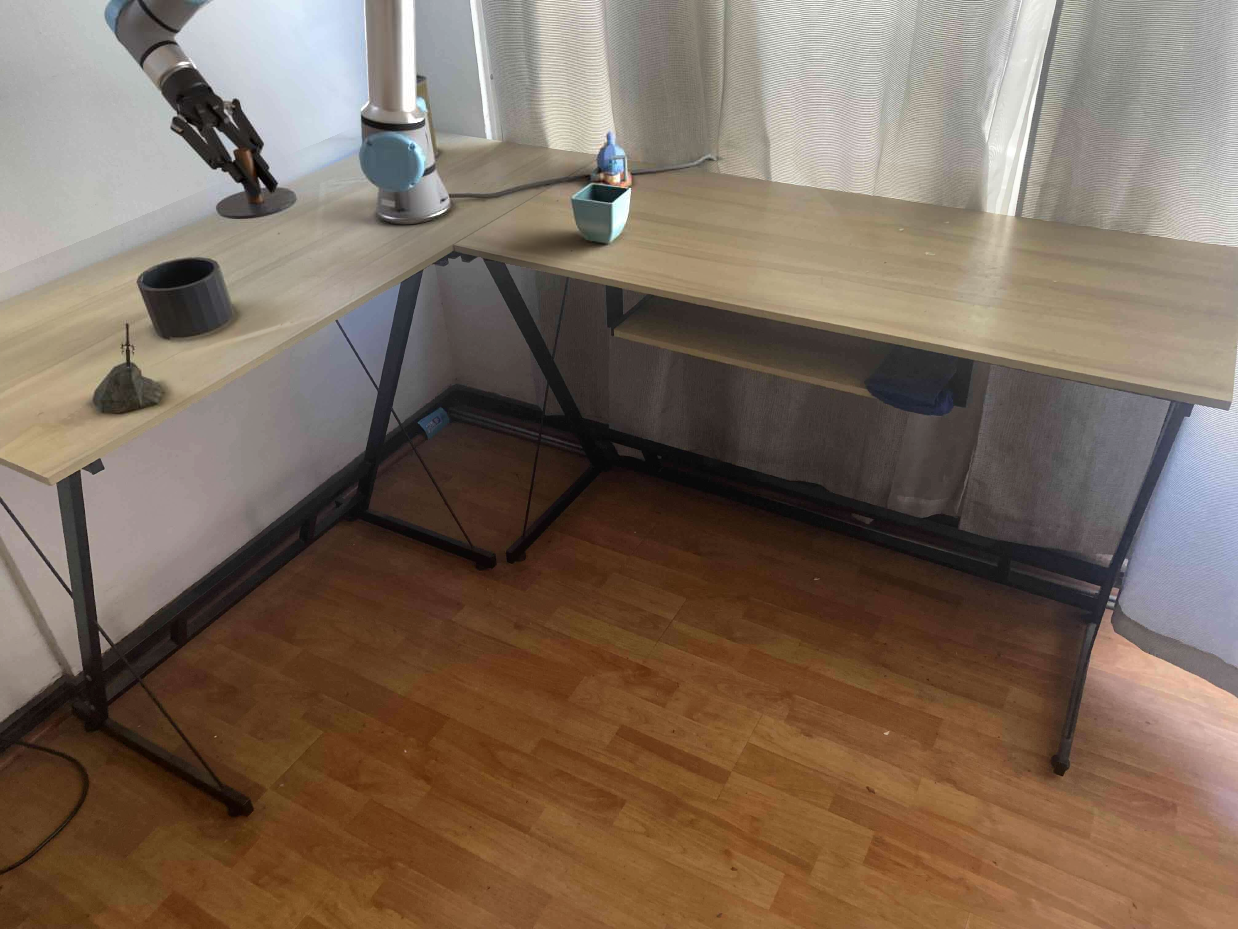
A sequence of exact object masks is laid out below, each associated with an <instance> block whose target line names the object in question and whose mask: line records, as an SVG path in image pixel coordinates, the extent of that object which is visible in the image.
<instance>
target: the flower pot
mask: <svg viewBox="0 0 1238 929" xmlns="http://www.w3.org/2000/svg"><path fill="white" fill-rule="evenodd" d="M631 192H632V189H631V188H630V187H618V186H610V185H603V184H595V183H591V184H590V183H589V184H587V185H586V186H584V187H583V188H582V189H581V190H579V191H577V193H575V194H574V195H572V196H571V197H570V201H571V202H570V203H571V207H572V212H573V218H574V222H575V224H576V227H577V229H578V231H579V233H580V234H581V236H582V237H583V238H584V239H585V240H586V241H589V242H597V243H601V244H603V243H604V244H611V243H612V242H613V241H614V240H615V239H616V238H617V237H618V236H620V234H621V233H622V231H623V229H624V227H625V225H626V223H627V220H628V216H629V211H630V201H631Z"/></svg>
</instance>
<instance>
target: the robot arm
mask: <svg viewBox="0 0 1238 929" xmlns="http://www.w3.org/2000/svg"><path fill="white" fill-rule="evenodd" d="M213 1H214V0H110V1H109V2H108V3H107V5H106V6H105V8H104V12H103V16H104V20H105V23H106V24H107V26H108V27H109V29H110V30H111V31H112V33H113V35H114V36H115V38H116V39H117V42H119V43H120V44H121V45H122V46H123V48H124V49H125V50H126V51H127V52H128V53H129V55H130V56H131V57H132V58H133V59H134V61H135V62H136V63H137V65H139V67H140V68H141V70H142V71H143V72H144V73H145V75H146V77H148V79H149V80H150V81H151V82H152V84H153V85H154V86H155V88H156V89H157V90H158V91H159V92H161V95H162V97H163V98H164V99H165V100H166V102H167V103H168V104H169V106H170V107H171V108H172V109H173V110H174V111H175V112H176V116H172V119H171V122H170V127H169V129H170V130H171V131H172V132H174V133H175V134H177V135H179V137H182V139H183V140H184V141H185V142H186V143H187V144H188V145H189V146H190V147H191V149H193V150H194V152H195V153H197V155H198V156H199V157H200V158H201V159H202V160H203V161H204V162H205V163H206V165H208V167H209V168H210V169H211V170H213V171H216V170H217V169H220V171H221V172H223V173H228V175H229V176H230V177H231V178H232V179H233V181H234V182H235V183H236V184H241V185H242V186H244V187H243V189H244V188H245V189H246V190H247V191H248V193H249V194H250V195H251V196H252V198H253V199H254V200H255V199H258V197H259V194H260V192H261V188H262V187H261V188H260V187H259V186H258V184H257V183H256V182H255V181H254V179H253V178H252V177H251V176H250V174H249V173H248V172H247V170H246V169H245V168H244V167H243V165H242V164H241V163H240V162H239V160H238V159H235V158H234V159H233V158H232V156H231V154H230V153H229V151H228V149H227V148H226V147H225V144H224V143H223V142H222V140H221V138H220V137H219V135H218V133H217V132H216V130H217V131H218V132H219V133H222V134H223V135H224V136H225V137H226V138H227V139H228V140H229V141H230V142H231V143H232V144H233V145H234V146H235V147H236V149H239V148H249V149H250V151H251V155H252V158H253V162H254V165H255V169H256V172H257V175H258V179H259V181H260V182H261V183H262V184H263V185H264V188H267V189H268V190H269V192H270V193H273V192H275V189H276V187H278V185H279V182H278V181H277V179H276V178H275V177H274V175H273V174H272V173H271V172H270V165H269V164H268V163H267V161H266V160H265V159H264V158H263V156H262V155H261V154H262V151H263V148H264V147H265V142H264V141H263V140H262V138H261V136H260V135H259V133H258V132H257V130H256V129H255V127H254V125H252V123H251V121H250V120H249V118H248V117H247V115H246V113H245V112H244V111H243V109H242V105H241V101H240V100H239V99H238V98H236V97H235V98H233V99H232V101H231V100H230V101H229V100H224V99H223V98H222V97H221V96H220V95H218V94H216V93H215V92H214V90H213V88H212V85H211V84H210V83H209V81H208V80H207V79H206V77H204V75H203V74H202V72H201V71H200V70H199V69H197V67H196V64H194V62H193V60H192V59H191V58H190V57H189V56H188V54H187V53H186V52H185V51H184V49H183V48H182V47H181V46H180V44H178V42H177V41H176V39H175V37H176V36H177V35H178V34H179V33H180V32H181V31H182V29H183V28H184V27H185V26H186V25H187V24H188V22H189V21H190V20H191V19H192V18H193V17H194V16H195V15H196V14H197V13H198V12H199V11H200V10H201V9H203V8H204V7H205V6H207V5H208V4H210V3H211V2H213ZM363 9H364V30H365V46H366V47H365V49H366V50H365V52H366V72H367V73H366V74H367V95H368V96H367V97H368V101H367V102H366V104H364V105H363V106H362V108H361V109H360V127H361V128H360V129H361V131H360V132H361V146H360V148H359V152H358V161H359V165H360V169H361V171H362V173H363V175H364V176H365V178H366V179H367V180H368V182H370V183H371V184H373V186H374V187H376V188H378V191H377V197H376V198H377V199H376V211H377V216H378V219H380V220H381V221H383V222H386V223H389V224H394V225H416V224H422V223H427V222H431V221H435V220H438V219H440V218H442V217H443V216H445V215H447V214H448V213H450V211H451V209H452V204H451V203H452V202H451V199H452V198H453V199H457V198H459V199H460V198H461V199H462V198H472V199H489V198H495V197H497V198H498V197H501V196H504V195H508V194H511V193H514V192H518V191H522V190H526V189H527V190H528V189H532V188H535V187H540V186H544V185H545V186H546V185H550V184H556V183H562V182H569V181H570V182H571V181H576V180H578V181H579V180H586V179H590V178H591V173H587V174H579V175H572V176H564V177H558V178H552V179H546V180H540V181H537V182H531V183H527V184H526V183H525V184H523V185H518V186H515V187H511V188H507V189H504V190H501V191H497V192H496V191H495V192H489V193H472V192H471V193H468V192H467V193H448V191H447V189H446V186H445V185H444V184H443V181H442V179H441V177H440V175H439V174H438V171H437V166H436V159H435V157H434V153H433V147H432V141H431V135H430V129H429V123H428V117H427V114H428V110H427V109H426V105H425V101H424V100H423V99H422V98H421V97H419V96H417V85H416V73H417V31H416V30H417V28H416V27H417V26H416V23H417V22H416V0H363ZM225 111H226V112H227V113H226V112H225ZM230 116H231V118H230ZM231 119H232V120H231ZM232 121H233V122H232ZM193 127H195V128H196V130H197V131H198V132H197V131H196V130H195V129H194V128H193ZM215 129H216V130H215ZM710 155H711V154H709V153H707V154H703V155H701V156H700V157H699V158H697V159H696V160H693V161H691V162H686V163H682V164H675V165H667V166H658V167H651V168H641V169H640V168H639V169H630V170H628V169H627V172H630V174H631V175H636V174H648V173H655V172H656V173H657V172H664V171H671V170H678V169H679V170H680V169H685V168H690V167H694V166H696V165H698V164H700V163H701V162H703V161H705V160H706V159H710V160H712V161H717V160H718V159H717V158H716V156H714V155H713V156H710ZM623 172H624V171H623ZM599 174H600V173H599Z"/></svg>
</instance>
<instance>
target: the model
mask: <svg viewBox="0 0 1238 929" xmlns="http://www.w3.org/2000/svg"><path fill="white" fill-rule="evenodd" d="M615 136H616V135H615V133H614V132H612V131H608V132H607V133H606V135H605V137H606V141H605V142H604V144H603V145H602V146H601V147H600V149H599V151H598V153H597V157H596V165H597V167H595V168H594V169H593V170H592V171H591V172H590V174H591V178H589V184H591V183H595V184H603V185H610V186H618V187H626V188H629V187H630V186H632V185H633V181H632V174H630V172H627V171H628V158H627V154H626V153H625V151H624V150H623V148H621V146H619V145H617V144H616V142H615V138H616V137H615ZM623 171H624V172H623ZM599 173H600V174H599Z"/></svg>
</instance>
